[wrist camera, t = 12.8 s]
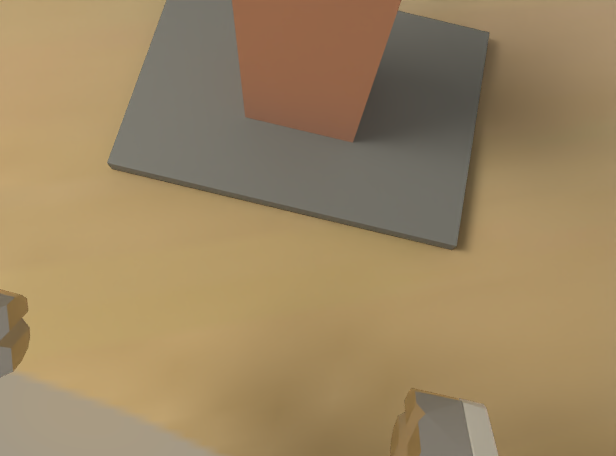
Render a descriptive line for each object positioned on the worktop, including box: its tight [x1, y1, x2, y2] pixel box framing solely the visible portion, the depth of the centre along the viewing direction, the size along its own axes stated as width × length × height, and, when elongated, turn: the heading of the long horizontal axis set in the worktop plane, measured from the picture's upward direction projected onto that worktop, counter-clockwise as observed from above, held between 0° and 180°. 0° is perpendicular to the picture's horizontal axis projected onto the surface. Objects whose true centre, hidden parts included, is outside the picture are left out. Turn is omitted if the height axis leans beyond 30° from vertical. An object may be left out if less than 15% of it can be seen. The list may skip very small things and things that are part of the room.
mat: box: [107, 0, 489, 250], centre depth 22 cm, size 14×10×1 cm
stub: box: [232, 0, 401, 143], centre depth 17 cm, size 4×4×9 cm
